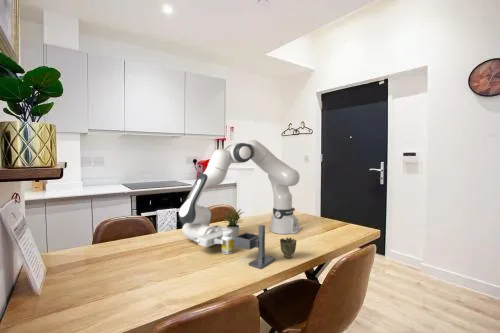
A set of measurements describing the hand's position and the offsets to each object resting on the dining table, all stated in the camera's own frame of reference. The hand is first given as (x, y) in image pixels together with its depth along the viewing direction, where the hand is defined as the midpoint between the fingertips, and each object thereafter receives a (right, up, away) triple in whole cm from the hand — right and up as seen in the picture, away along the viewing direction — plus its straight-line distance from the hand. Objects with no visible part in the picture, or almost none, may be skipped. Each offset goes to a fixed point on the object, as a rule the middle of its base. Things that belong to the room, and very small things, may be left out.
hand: (228, 240), depth 127 cm
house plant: (+2, -5, +26) cm, 27 cm away
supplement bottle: (-1, -6, +1) cm, 6 cm away
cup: (+27, -7, -5) cm, 28 cm away
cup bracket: (+12, -6, -8) cm, 16 cm away
